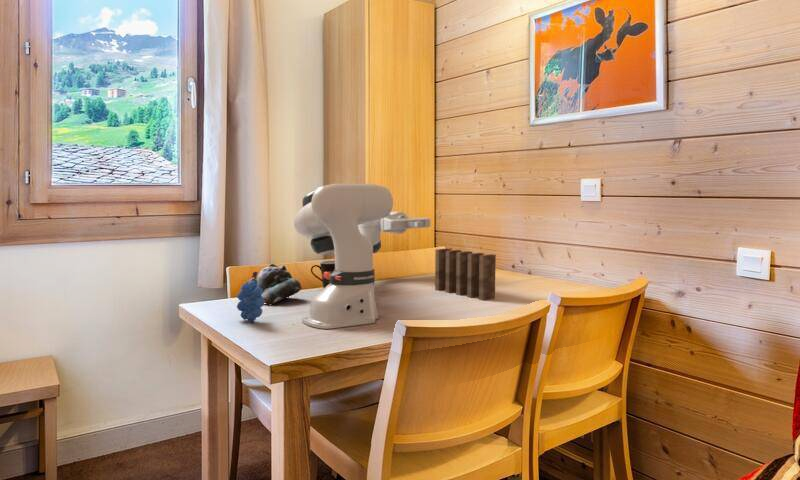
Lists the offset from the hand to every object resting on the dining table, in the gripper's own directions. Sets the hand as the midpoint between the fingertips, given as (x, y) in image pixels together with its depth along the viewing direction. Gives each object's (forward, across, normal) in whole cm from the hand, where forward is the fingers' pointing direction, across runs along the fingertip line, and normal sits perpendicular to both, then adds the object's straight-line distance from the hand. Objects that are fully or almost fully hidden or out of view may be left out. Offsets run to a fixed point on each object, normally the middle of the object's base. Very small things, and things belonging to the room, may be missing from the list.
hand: (420, 224), depth 215 cm
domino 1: (+13, 0, -23) cm, 27 cm away
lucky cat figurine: (-6, +58, -23) cm, 63 cm away
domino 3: (+24, 0, -23) cm, 34 cm away
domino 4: (+30, 0, -23) cm, 38 cm away
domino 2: (+19, 0, -23) cm, 30 cm away
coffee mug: (-15, +32, -23) cm, 42 cm away
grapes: (+15, +75, -23) cm, 80 cm away
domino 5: (+35, 0, -23) cm, 42 cm away
